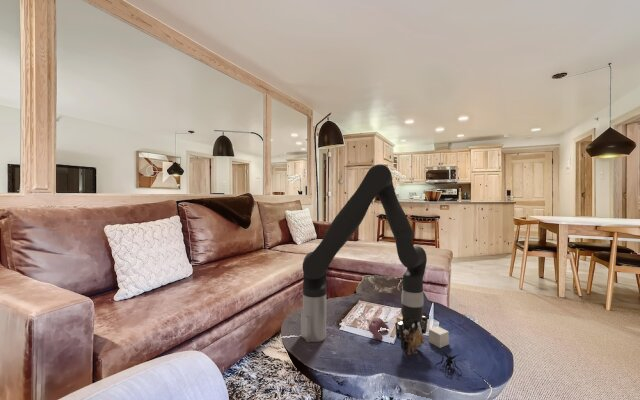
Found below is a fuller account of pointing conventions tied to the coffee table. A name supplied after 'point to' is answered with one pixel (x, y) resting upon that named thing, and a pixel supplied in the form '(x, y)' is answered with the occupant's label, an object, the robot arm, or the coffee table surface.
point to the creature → (449, 363)
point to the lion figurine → (414, 341)
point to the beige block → (438, 336)
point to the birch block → (399, 318)
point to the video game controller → (377, 327)
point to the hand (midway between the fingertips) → (411, 347)
